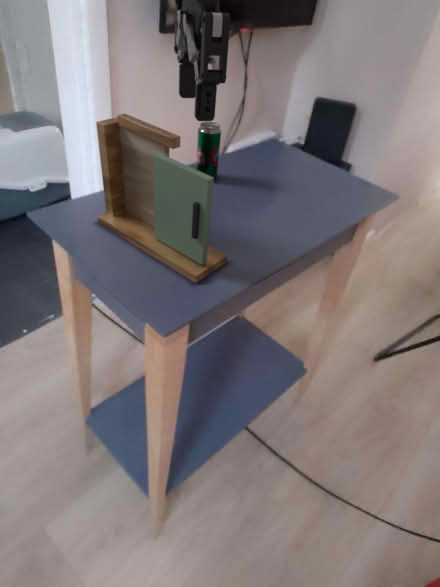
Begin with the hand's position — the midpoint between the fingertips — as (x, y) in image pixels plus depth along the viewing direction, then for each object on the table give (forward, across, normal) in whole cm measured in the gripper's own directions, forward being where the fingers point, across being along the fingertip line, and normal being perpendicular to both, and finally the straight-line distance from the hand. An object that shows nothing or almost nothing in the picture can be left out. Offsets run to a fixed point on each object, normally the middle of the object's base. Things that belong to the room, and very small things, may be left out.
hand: (195, 108), depth 48 cm
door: (+24, -4, -1) cm, 24 cm away
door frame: (+26, -9, -3) cm, 28 cm away
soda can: (+26, -34, +12) cm, 45 cm away
